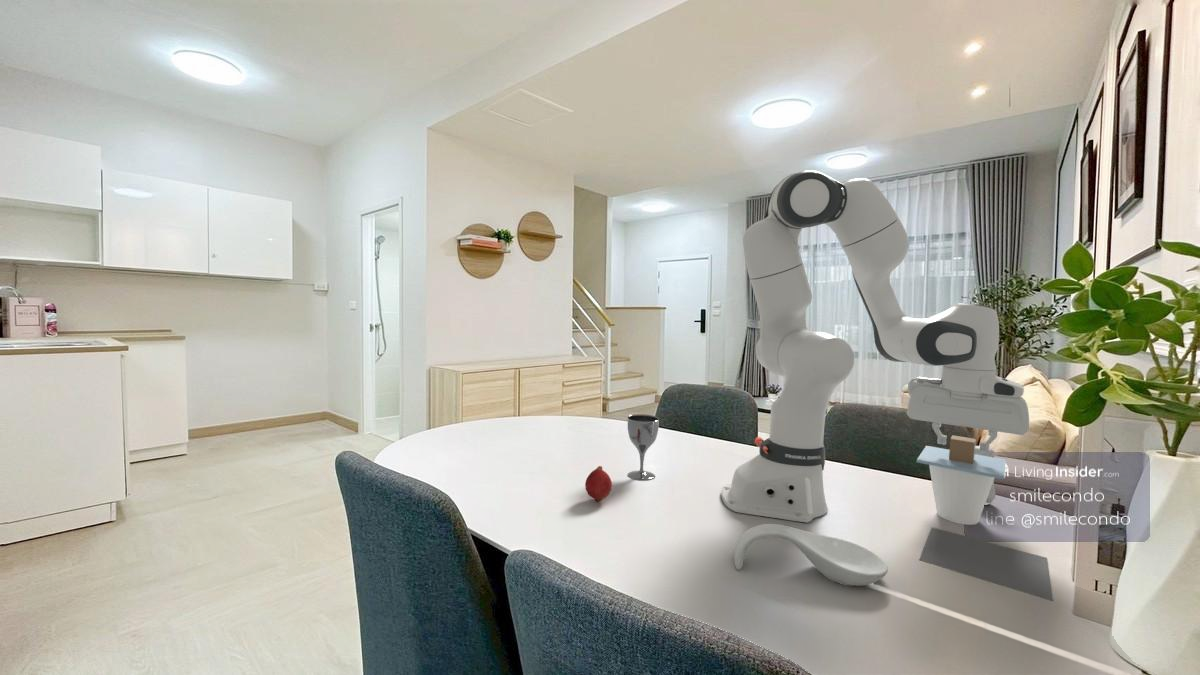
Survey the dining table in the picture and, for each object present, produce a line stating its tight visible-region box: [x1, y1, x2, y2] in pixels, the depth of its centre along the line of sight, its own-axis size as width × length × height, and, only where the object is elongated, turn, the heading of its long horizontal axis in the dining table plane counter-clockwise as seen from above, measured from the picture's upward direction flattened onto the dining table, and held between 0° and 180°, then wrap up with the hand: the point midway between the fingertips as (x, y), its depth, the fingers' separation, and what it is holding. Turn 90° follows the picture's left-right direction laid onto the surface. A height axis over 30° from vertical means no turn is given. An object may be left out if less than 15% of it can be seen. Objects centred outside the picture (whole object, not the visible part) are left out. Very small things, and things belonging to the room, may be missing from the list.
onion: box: [584, 465, 613, 503], centre depth 106 cm, size 6×6×8 cm
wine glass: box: [627, 413, 660, 482], centre depth 123 cm, size 8×8×15 cm
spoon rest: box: [732, 523, 889, 587], centre depth 80 cm, size 24×12×7 cm, turn 82°
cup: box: [928, 465, 995, 526], centre depth 101 cm, size 12×12×12 cm
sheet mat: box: [918, 527, 1054, 602], centre depth 85 cm, size 17×17×1 cm
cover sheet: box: [916, 434, 1007, 480], centre depth 101 cm, size 14×14×5 cm
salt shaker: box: [975, 445, 996, 504], centre depth 111 cm, size 6×6×13 cm
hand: (962, 447), depth 101 cm, fingers open, 6 cm apart
